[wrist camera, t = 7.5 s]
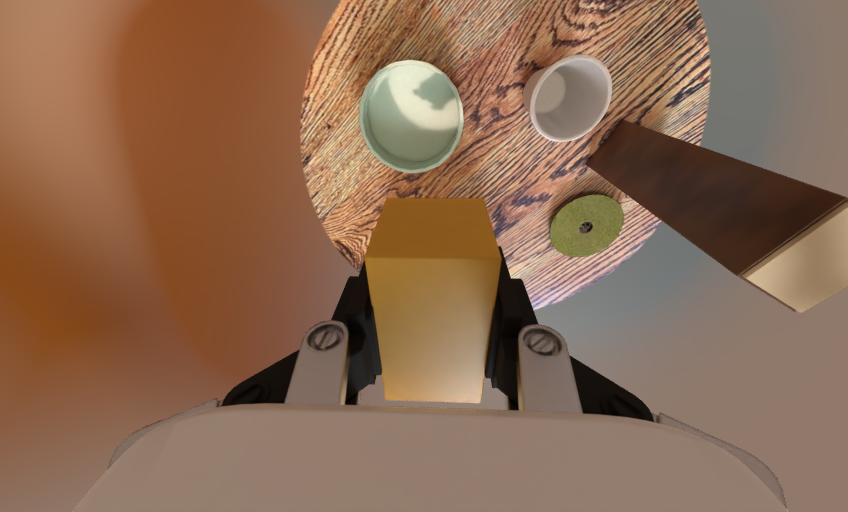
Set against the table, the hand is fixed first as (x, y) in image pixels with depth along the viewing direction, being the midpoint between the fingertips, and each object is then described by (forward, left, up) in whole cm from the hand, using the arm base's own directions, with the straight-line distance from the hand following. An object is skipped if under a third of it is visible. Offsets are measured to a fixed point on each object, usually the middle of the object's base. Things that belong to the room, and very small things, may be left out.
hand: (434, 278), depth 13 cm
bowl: (+1, -3, -37) cm, 37 cm away
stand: (-9, +26, -37) cm, 46 cm away
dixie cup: (-10, +11, -37) cm, 40 cm away
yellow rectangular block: (0, 0, -1) cm, 1 cm away
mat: (+2, +29, -37) cm, 47 cm away
